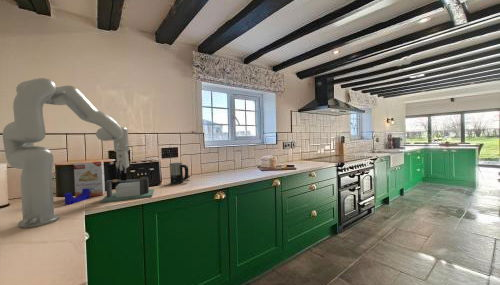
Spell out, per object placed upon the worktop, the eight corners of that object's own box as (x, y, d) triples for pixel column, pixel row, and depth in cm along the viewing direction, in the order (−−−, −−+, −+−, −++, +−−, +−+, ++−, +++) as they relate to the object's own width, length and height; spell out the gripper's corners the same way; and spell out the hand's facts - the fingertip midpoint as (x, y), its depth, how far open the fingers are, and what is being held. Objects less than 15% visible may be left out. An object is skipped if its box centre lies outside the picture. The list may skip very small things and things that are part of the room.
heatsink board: (151, 197, 129) (150, 179, 129) (100, 203, 120) (99, 184, 120) (153, 190, 146) (152, 174, 146) (109, 195, 137) (108, 178, 137)
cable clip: (83, 198, 132) (82, 188, 132) (89, 198, 132) (89, 188, 131) (62, 204, 121) (62, 193, 120) (69, 205, 120) (69, 193, 120)
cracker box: (75, 198, 132) (73, 163, 132) (78, 196, 138) (76, 162, 137) (103, 195, 137) (101, 161, 137) (105, 193, 143) (103, 160, 142)
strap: (144, 180, 137) (144, 179, 137) (143, 181, 134) (143, 179, 134) (113, 181, 132) (113, 179, 132) (112, 182, 129) (112, 180, 129)
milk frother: (169, 184, 164) (168, 164, 163) (172, 180, 179) (171, 161, 179) (189, 183, 166) (188, 162, 166) (190, 179, 182) (190, 160, 182)
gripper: (126, 148, 126) (129, 181, 127) (130, 147, 140) (133, 176, 141) (111, 149, 123) (113, 183, 124) (117, 148, 137) (119, 178, 138)
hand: (124, 179), depth 133 cm, fingers closed
